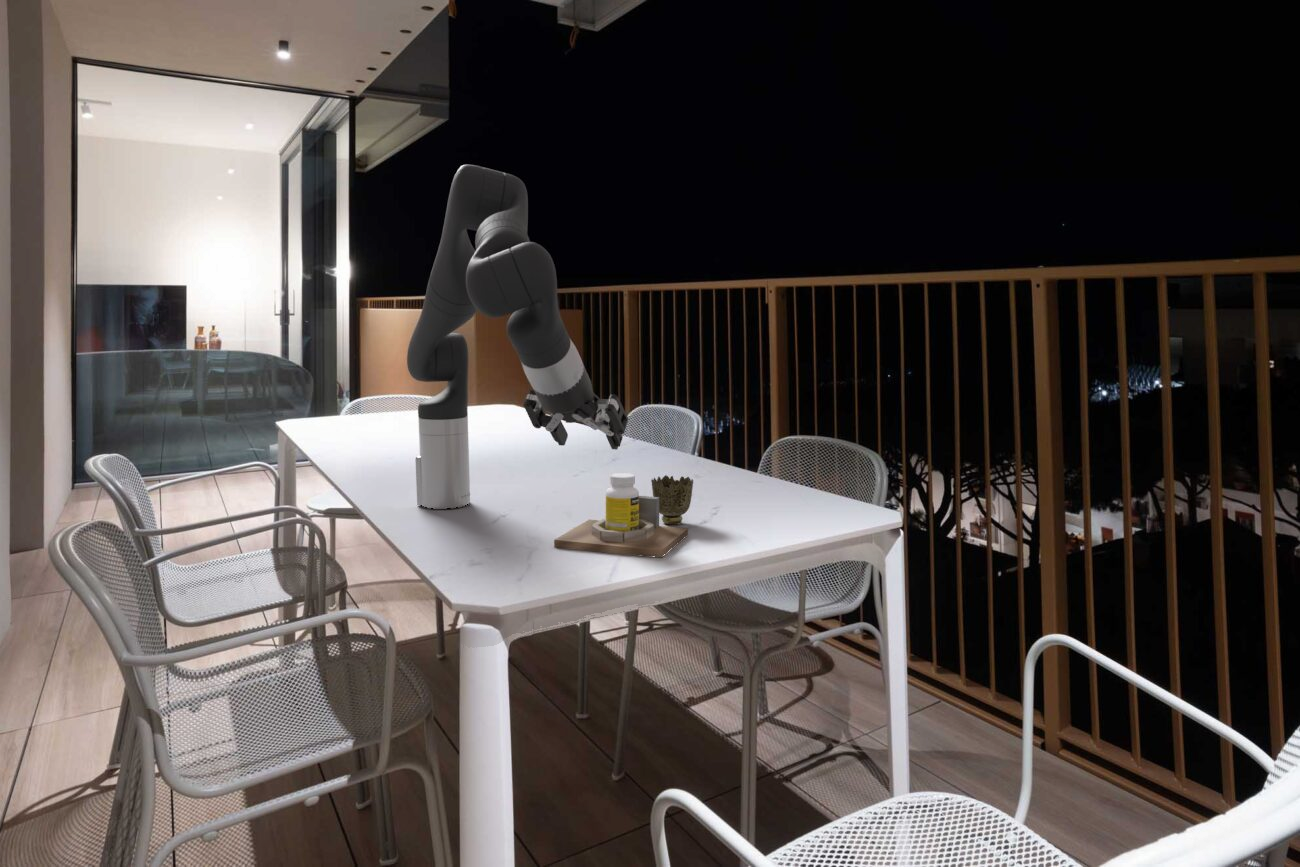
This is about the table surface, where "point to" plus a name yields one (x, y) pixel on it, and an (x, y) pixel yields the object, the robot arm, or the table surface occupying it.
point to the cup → (672, 497)
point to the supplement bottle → (622, 503)
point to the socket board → (622, 548)
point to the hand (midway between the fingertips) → (589, 442)
